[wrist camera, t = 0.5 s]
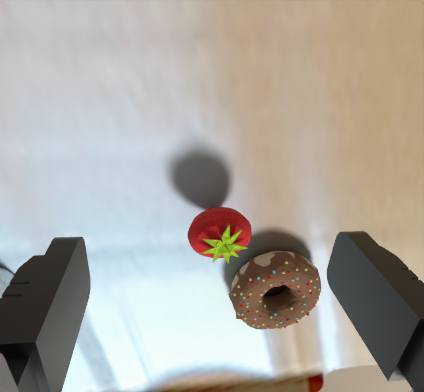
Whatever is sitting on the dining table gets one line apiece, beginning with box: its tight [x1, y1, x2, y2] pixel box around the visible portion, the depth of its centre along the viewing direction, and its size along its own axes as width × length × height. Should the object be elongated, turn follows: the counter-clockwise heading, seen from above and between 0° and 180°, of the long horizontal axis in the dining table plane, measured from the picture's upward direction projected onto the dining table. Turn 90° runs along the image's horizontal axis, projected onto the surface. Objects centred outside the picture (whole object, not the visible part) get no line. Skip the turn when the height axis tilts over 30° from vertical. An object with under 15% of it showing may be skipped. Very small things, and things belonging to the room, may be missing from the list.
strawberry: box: [188, 207, 251, 264], centre depth 37 cm, size 6×8×10 cm
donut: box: [229, 251, 321, 330], centre depth 47 cm, size 14×14×5 cm
